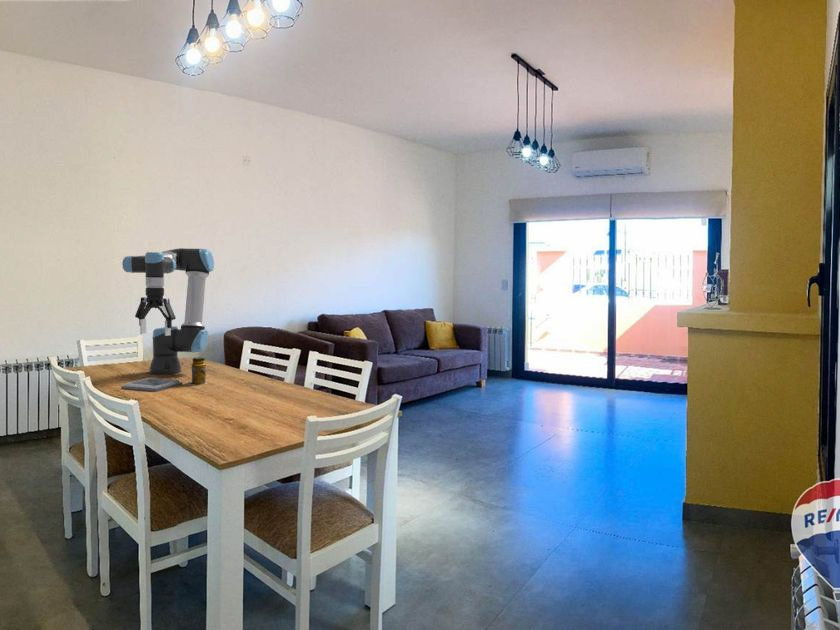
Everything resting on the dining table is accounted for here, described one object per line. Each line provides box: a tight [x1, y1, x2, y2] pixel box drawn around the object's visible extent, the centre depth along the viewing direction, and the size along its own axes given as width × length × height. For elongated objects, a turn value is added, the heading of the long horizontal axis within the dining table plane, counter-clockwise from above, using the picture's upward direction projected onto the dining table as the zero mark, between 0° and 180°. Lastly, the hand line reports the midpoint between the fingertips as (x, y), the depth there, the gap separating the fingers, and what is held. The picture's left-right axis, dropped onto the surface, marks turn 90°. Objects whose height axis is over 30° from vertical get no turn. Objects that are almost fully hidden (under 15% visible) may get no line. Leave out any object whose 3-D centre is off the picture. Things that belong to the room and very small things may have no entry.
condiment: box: [185, 356, 209, 386], centre depth 284 cm, size 7×8×12 cm
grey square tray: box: [120, 377, 184, 393], centre depth 275 cm, size 18×18×2 cm
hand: (155, 334), depth 272 cm, fingers open, 13 cm apart
